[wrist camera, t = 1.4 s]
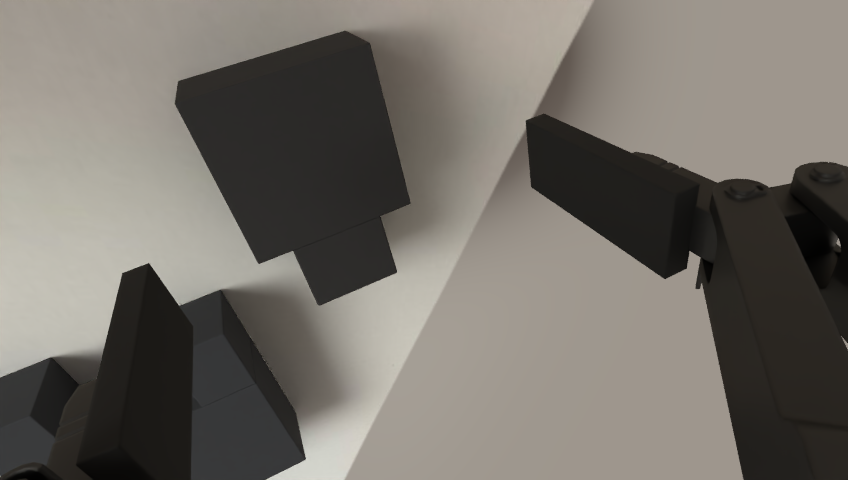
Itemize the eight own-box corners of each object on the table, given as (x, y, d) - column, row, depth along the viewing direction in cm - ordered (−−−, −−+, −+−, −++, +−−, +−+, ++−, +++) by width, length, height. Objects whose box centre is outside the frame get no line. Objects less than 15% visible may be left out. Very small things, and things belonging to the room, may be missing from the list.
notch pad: (-12, 382, 24) (-43, 446, 21) (220, 288, 27) (224, 333, 24) (121, 494, 31) (113, 556, 28) (295, 412, 34) (306, 459, 30)
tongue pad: (177, 81, 21) (174, 103, 18) (345, 30, 23) (370, 42, 20) (277, 278, 28) (287, 320, 25) (401, 228, 29) (425, 261, 26)
